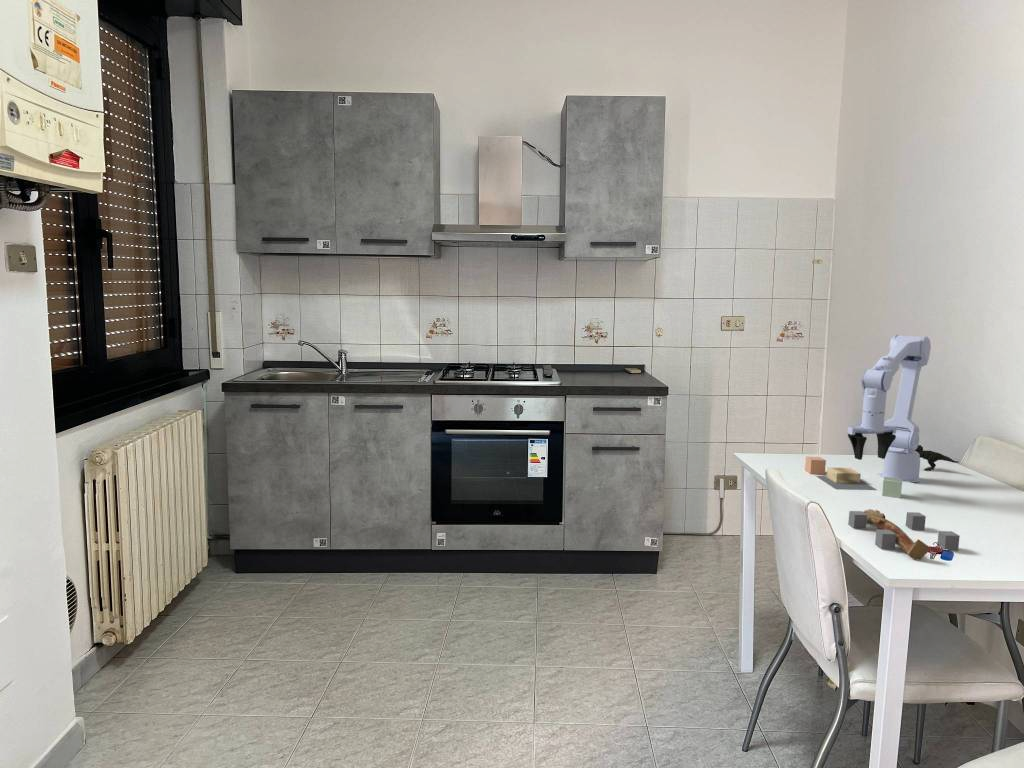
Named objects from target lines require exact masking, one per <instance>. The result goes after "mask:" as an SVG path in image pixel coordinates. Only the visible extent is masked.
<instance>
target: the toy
mask: <svg viewBox="0 0 1024 768" xmlns="http://www.w3.org/2000/svg"><path fill="white" fill-rule="evenodd" d="M915 451H916V452H917V453H918V454H919V456H920V459H923V460H926V461H927V463H928V465H929V466H928V467H926V468H923V471H926V472H929V471H934V470H935V468H936V466H937V465H936V462H937V461H945V462H950V463H954V464H956V463H960V461H958V460H957V461H956V460H953V458H951V457H950V456H947V455H944V454H942V453H940V452H937V451H932V450H924V447H923V446H922V445H921V444H918V447H917V449H916V450H915Z"/></svg>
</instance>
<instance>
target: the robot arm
mask: <svg viewBox="0 0 1024 768" xmlns="http://www.w3.org/2000/svg"><path fill="white" fill-rule="evenodd" d="M931 349H932V348H931V340H930V338H929V336H926V335H925V336H918V335H917V336H916V335H915V336H914V335H913V336H912V335H899V334H894V335H893V336H892V337H891V339H890V343H889V352H888V353H887V355H883V356H882V357H880V358H879V360H878V361H877V362H876V363H875V364H874V365H873V367H872V368H868V369H867V370H864V372H863V373H862V376H861V380H860V383H861V388H862V389H861V390H862V391H861V393H862V394H861V395H863V403H862V413H861V414H862V415H861V424H860V425H856V426H848V427H847V437H848V439H849V441H850V444H851V445H852V449H853V454H854V459H855V460H856V459H857V460H859V461H860V460H863V457H864V448H865V444H866V441H867V440H868V438H867V436H864V435H867V434H868V435H871V434H872V435H873V434H876V438H877V458H879V459H882V460H883V467H882V473H877V474H876V475H877V476H879V477H880V478H882V479H884V477H891V478H899V479H902V482H909V483H920V482H921V480H920V469H921V458H920V456H919V453H918V452H916V451H915V450H916V449H917V447H918V445H920V428H919V426H918V425H917V424H916V423H915V422H914V421H912V415H913V412H914V405H915V400H916V395H917V388H918V383H919V378H920V374H921V370H922V367H924V366H927V365H928V362H929V360H930V359H929V358H930V354H931ZM900 366H901V367H902V370H901V375H900V380H899V385H898V391H897V395H896V402H895V407H894V413H893V416H892V418H889V419H888V420H886V421H885V417H886V406H887V405H886V402H887V392H888V391H889V390H890V388H891V386H892V382H893V377H894V376H895V374H897V372H898V371H899V370H900Z"/></svg>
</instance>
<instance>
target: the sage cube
mask: <svg viewBox="0 0 1024 768" xmlns="http://www.w3.org/2000/svg"><path fill="white" fill-rule="evenodd" d="M902 485H903V481H902V479H899V478H891V477H884V478H883V482H882V492H881V493H882V495H881V496H882V497H886V498H887V497H888V498H895V499H901V495H902V488H903V487H902Z"/></svg>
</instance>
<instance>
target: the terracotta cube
mask: <svg viewBox="0 0 1024 768" xmlns="http://www.w3.org/2000/svg"><path fill="white" fill-rule="evenodd" d="M804 462H805V463H804V471H805V472H806V473H808V474H809V475H825V474H826V466H827V465H826V464H827V463H826V462H827V460H826V459H825V458H823V457H821V456H805V461H804Z"/></svg>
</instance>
